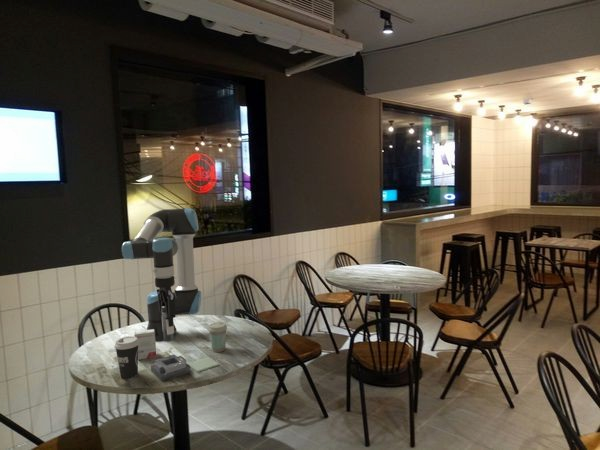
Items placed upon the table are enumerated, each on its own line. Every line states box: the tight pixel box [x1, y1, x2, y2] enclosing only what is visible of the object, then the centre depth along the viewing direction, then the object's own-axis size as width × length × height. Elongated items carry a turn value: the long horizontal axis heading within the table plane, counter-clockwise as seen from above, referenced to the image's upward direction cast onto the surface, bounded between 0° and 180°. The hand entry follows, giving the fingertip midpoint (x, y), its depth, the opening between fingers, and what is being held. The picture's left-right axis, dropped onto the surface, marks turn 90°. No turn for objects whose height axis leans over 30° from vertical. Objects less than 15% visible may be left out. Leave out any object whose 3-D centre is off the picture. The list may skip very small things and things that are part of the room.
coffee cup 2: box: [207, 321, 228, 353], centre depth 198 cm, size 8×8×12 cm
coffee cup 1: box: [113, 335, 139, 380], centre depth 174 cm, size 10×10×15 cm
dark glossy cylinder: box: [161, 305, 175, 342], centre depth 175 cm, size 4×4×14 cm
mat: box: [186, 356, 220, 373], centre depth 183 cm, size 10×10×1 cm
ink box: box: [133, 329, 157, 361], centre depth 193 cm, size 9×5×12 cm, turn 108°
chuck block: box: [150, 354, 192, 382], centre depth 177 cm, size 12×12×4 cm
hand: (168, 331), depth 175 cm, fingers closed on dark glossy cylinder, 4 cm apart
